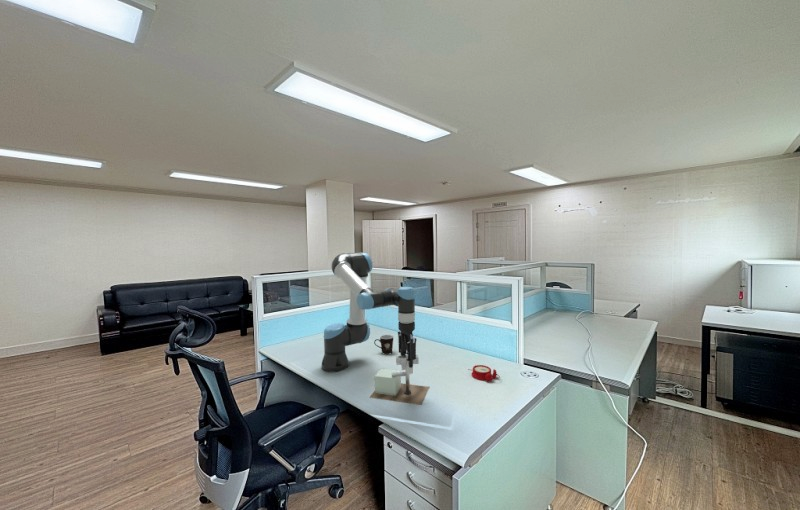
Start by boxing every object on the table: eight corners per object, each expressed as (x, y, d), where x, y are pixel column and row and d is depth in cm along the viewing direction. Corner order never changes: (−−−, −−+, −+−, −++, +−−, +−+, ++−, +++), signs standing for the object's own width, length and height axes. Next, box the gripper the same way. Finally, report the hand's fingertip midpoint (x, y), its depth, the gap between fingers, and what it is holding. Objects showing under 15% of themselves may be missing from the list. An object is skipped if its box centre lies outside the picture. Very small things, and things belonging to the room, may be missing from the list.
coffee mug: (395, 350, 196) (395, 335, 195) (390, 355, 187) (390, 339, 187) (379, 348, 199) (378, 333, 199) (373, 353, 191) (373, 337, 191)
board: (369, 399, 136) (369, 395, 136) (382, 382, 151) (382, 379, 151) (421, 407, 129) (421, 403, 129) (429, 388, 144) (429, 385, 144)
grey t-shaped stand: (392, 393, 137) (391, 358, 136) (391, 390, 140) (391, 356, 139) (418, 392, 138) (418, 357, 137) (418, 389, 141) (417, 354, 140)
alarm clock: (476, 363, 165) (501, 364, 155) (478, 374, 165) (504, 377, 154) (465, 369, 158) (491, 370, 148) (468, 381, 157) (494, 384, 147)
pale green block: (374, 393, 139) (374, 376, 139) (381, 384, 147) (380, 368, 147) (395, 396, 136) (395, 378, 136) (401, 387, 144) (400, 371, 144)
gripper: (423, 324, 131) (424, 377, 132) (404, 316, 147) (405, 363, 148) (408, 327, 128) (409, 381, 129) (390, 318, 143) (391, 366, 145)
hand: (407, 371), depth 139 cm, fingers closed on grey t-shaped stand, 4 cm apart
